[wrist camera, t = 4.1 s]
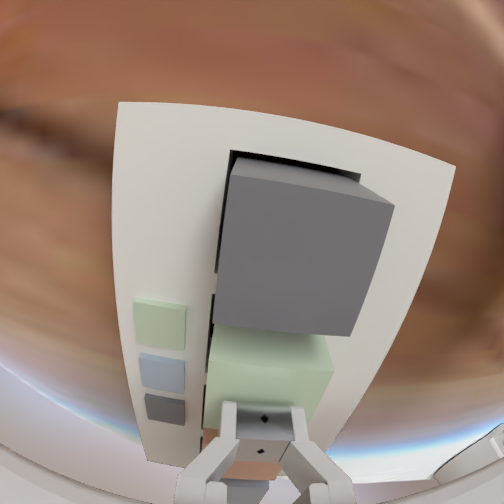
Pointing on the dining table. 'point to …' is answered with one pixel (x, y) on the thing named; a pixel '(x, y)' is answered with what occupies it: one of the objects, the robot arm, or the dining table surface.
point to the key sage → (265, 370)
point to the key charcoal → (297, 249)
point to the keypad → (209, 244)
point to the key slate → (245, 490)
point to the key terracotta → (245, 464)
